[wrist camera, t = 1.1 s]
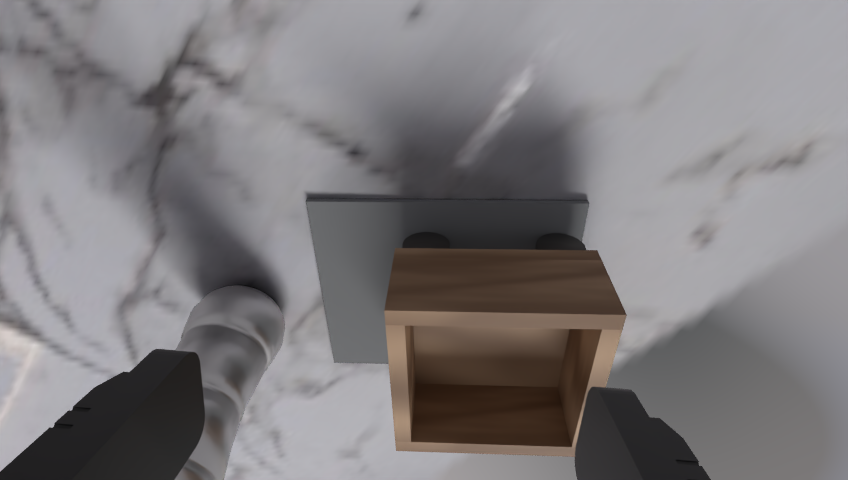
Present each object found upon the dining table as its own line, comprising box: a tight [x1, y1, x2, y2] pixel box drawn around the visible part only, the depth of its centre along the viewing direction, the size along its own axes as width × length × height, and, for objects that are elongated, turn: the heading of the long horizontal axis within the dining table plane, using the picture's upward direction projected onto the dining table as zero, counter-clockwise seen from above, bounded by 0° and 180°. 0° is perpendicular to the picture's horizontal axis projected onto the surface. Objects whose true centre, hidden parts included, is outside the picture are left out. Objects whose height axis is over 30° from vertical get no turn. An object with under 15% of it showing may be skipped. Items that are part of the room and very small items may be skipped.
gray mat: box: [306, 199, 589, 364], centre depth 34 cm, size 15×18×1 cm
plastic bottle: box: [175, 285, 285, 480], centre depth 28 cm, size 6×7×20 cm
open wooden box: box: [384, 232, 626, 457], centre depth 30 cm, size 12×12×8 cm
